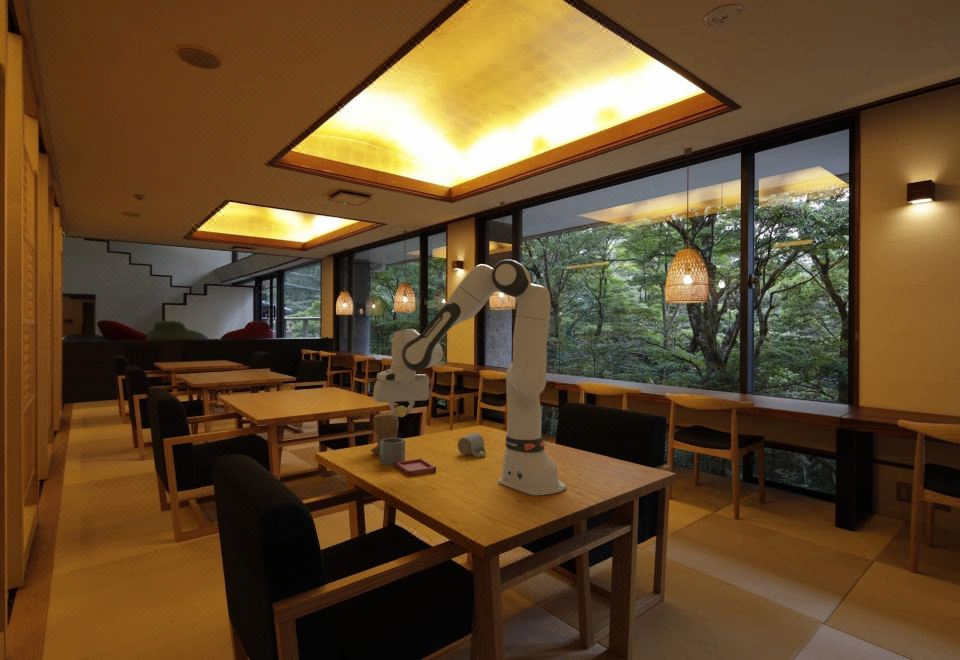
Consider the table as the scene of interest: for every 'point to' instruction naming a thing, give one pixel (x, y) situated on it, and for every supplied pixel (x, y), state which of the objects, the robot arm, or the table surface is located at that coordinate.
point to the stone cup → (385, 428)
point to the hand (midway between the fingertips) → (401, 413)
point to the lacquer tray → (415, 467)
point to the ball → (401, 411)
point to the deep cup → (392, 451)
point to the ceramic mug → (472, 445)
